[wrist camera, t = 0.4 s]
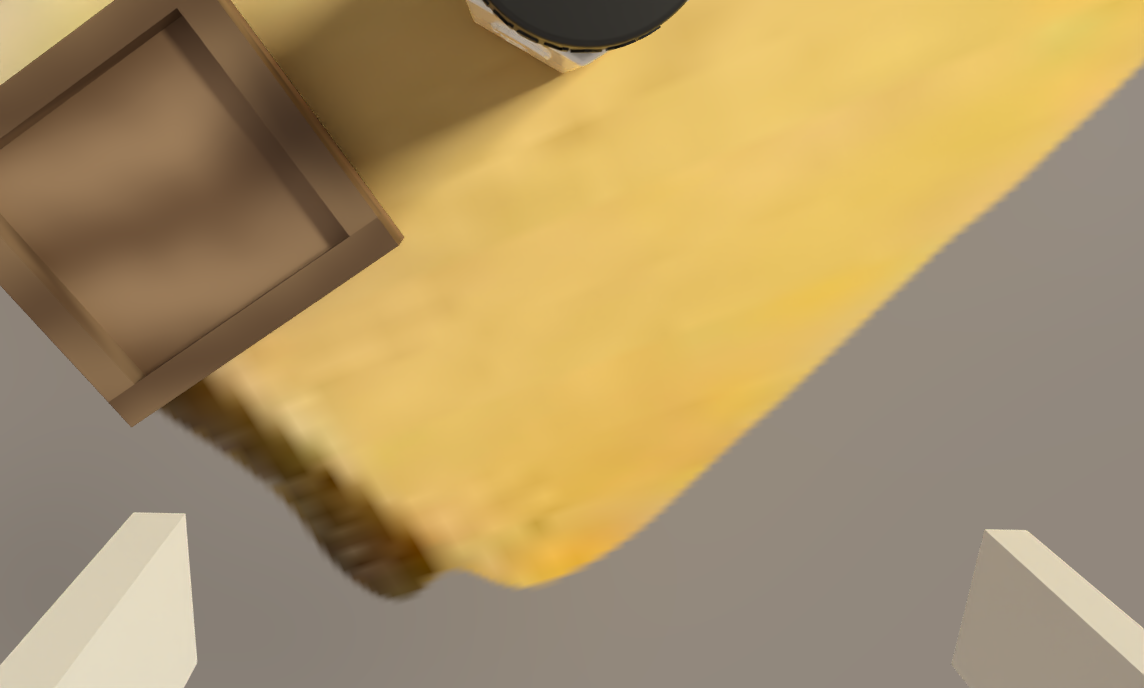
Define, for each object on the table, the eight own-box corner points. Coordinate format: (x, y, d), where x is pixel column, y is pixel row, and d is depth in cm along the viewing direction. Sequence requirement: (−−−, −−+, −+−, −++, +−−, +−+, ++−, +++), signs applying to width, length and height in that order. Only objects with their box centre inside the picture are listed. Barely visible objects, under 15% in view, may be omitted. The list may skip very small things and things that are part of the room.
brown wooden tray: (-73, 163, 35) (-109, 167, 33) (201, -41, 34) (180, -50, 32) (151, 409, 39) (131, 427, 37) (404, 237, 38) (398, 245, 36)
